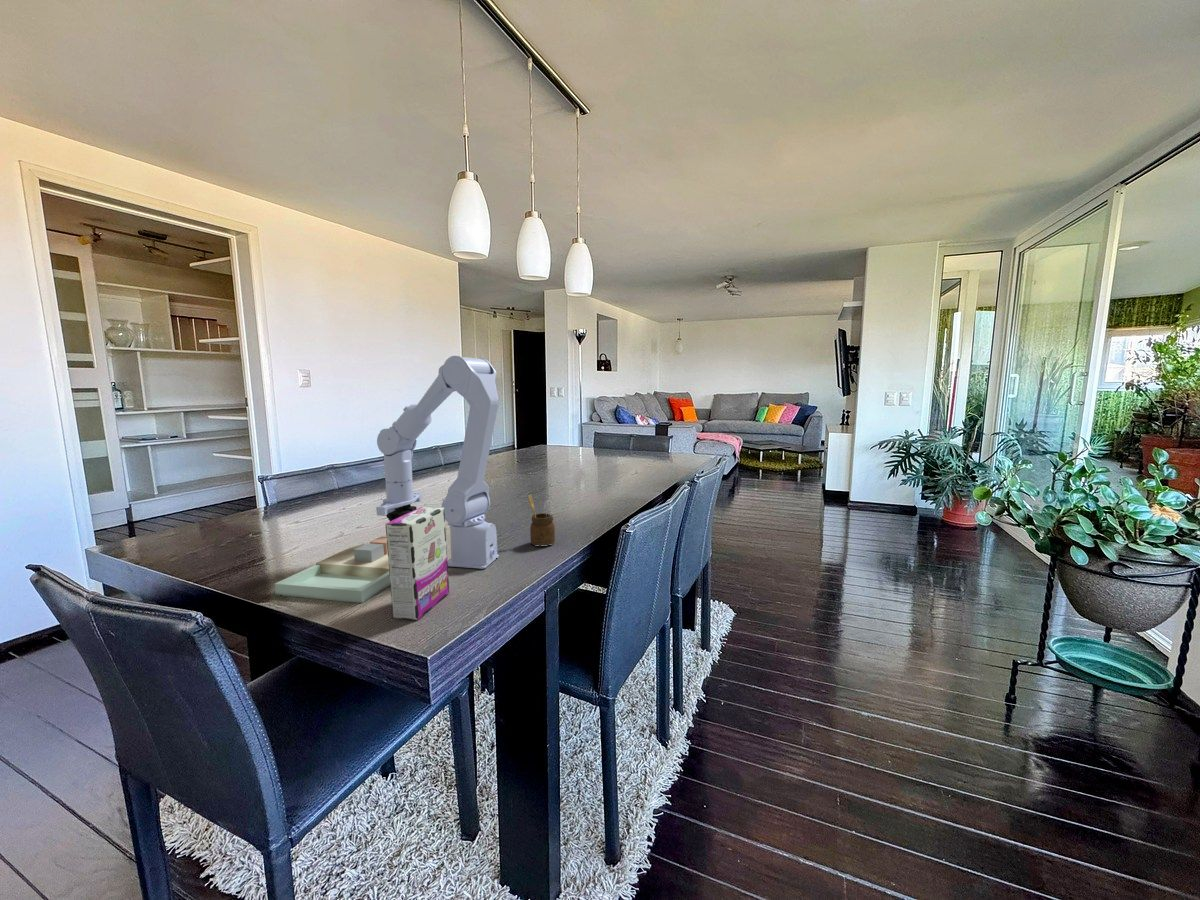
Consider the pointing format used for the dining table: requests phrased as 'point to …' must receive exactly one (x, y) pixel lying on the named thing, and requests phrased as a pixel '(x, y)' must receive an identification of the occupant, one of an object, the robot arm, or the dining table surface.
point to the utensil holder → (542, 527)
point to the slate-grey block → (368, 552)
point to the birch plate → (353, 565)
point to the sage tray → (331, 586)
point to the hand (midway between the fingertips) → (402, 538)
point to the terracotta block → (381, 541)
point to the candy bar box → (417, 562)
